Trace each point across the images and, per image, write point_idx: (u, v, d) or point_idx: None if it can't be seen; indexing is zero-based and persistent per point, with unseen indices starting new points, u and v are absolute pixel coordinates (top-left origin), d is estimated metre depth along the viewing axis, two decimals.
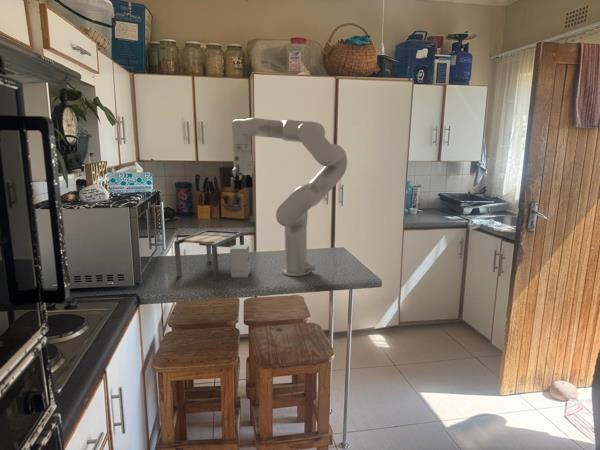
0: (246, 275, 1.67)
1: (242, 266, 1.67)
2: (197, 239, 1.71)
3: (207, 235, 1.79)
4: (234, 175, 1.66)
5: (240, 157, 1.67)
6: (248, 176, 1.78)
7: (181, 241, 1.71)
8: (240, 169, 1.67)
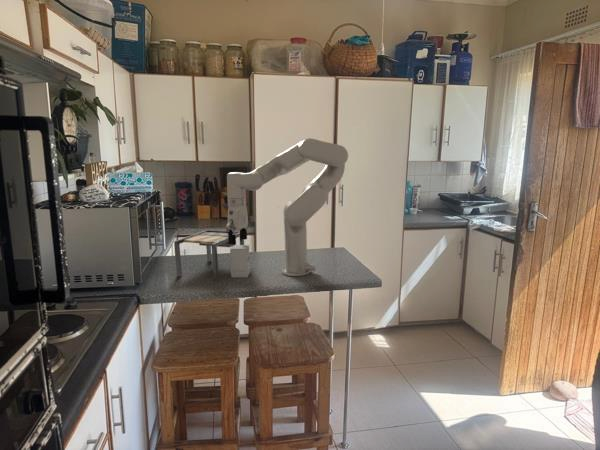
0: (246, 275, 1.67)
1: (242, 266, 1.67)
2: (197, 239, 1.71)
3: (207, 235, 1.79)
4: (228, 231, 1.60)
5: (234, 212, 1.61)
6: (243, 228, 1.72)
7: (181, 241, 1.71)
8: (234, 224, 1.62)
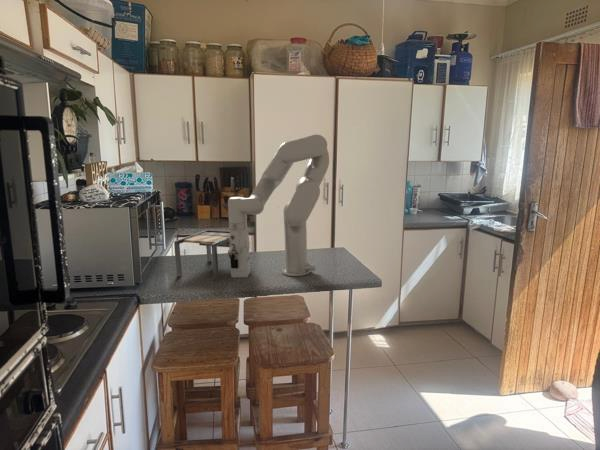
0: (246, 275, 1.67)
1: (242, 266, 1.67)
2: (197, 239, 1.71)
3: (207, 235, 1.79)
4: (230, 255, 1.62)
5: (236, 236, 1.63)
6: None
7: (181, 241, 1.71)
8: (236, 249, 1.64)
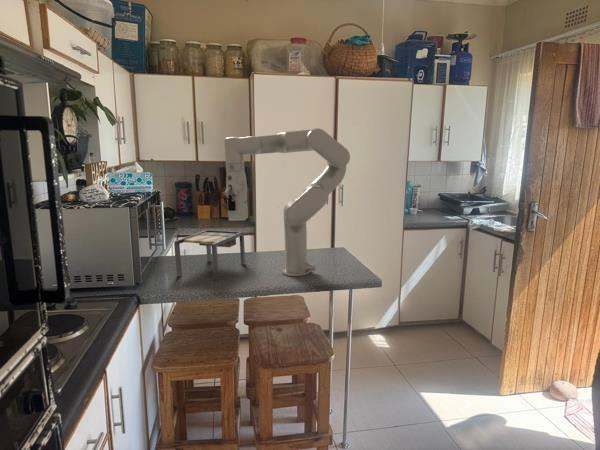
0: (243, 218, 1.63)
1: (239, 209, 1.62)
2: (197, 239, 1.71)
3: (207, 235, 1.79)
4: (227, 196, 1.58)
5: (233, 177, 1.58)
6: None
7: (181, 241, 1.71)
8: (233, 190, 1.59)
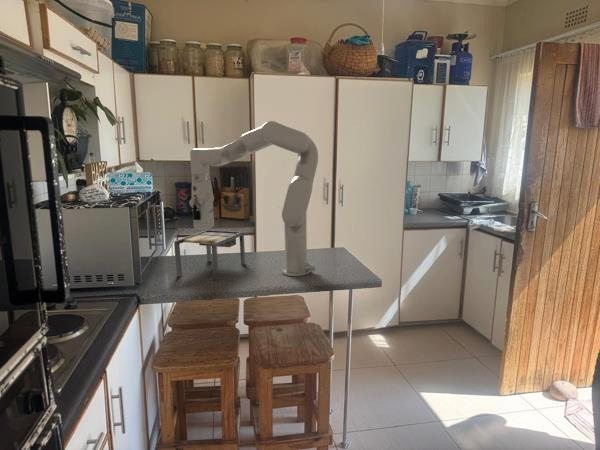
0: (208, 227, 1.68)
1: (204, 218, 1.67)
2: (197, 239, 1.71)
3: (207, 235, 1.79)
4: (192, 206, 1.63)
5: (198, 187, 1.63)
6: None
7: (181, 241, 1.71)
8: (198, 200, 1.64)
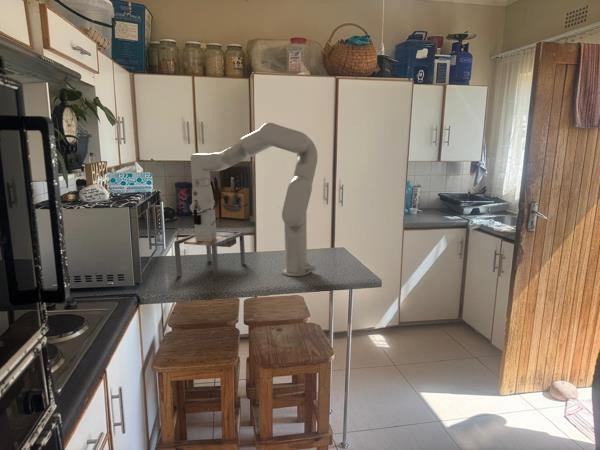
0: (209, 240, 1.69)
1: (206, 230, 1.68)
2: None
3: None
4: (192, 211, 1.63)
5: (198, 192, 1.64)
6: (209, 209, 1.75)
7: (181, 241, 1.71)
8: (198, 204, 1.64)
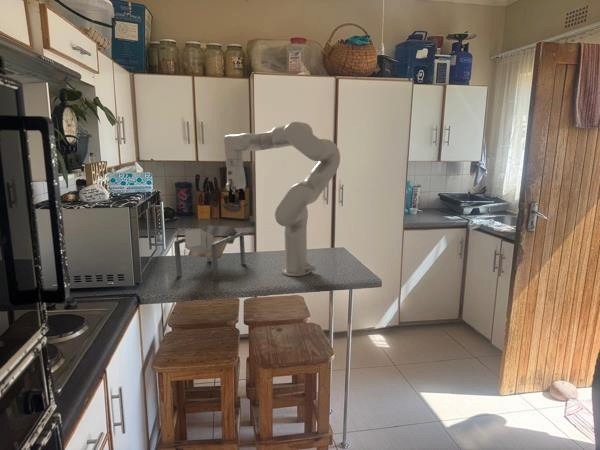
0: None
1: (204, 250, 1.67)
2: None
3: None
4: (228, 189, 1.70)
5: (233, 172, 1.71)
6: (241, 189, 1.82)
7: (181, 241, 1.71)
8: (233, 183, 1.71)
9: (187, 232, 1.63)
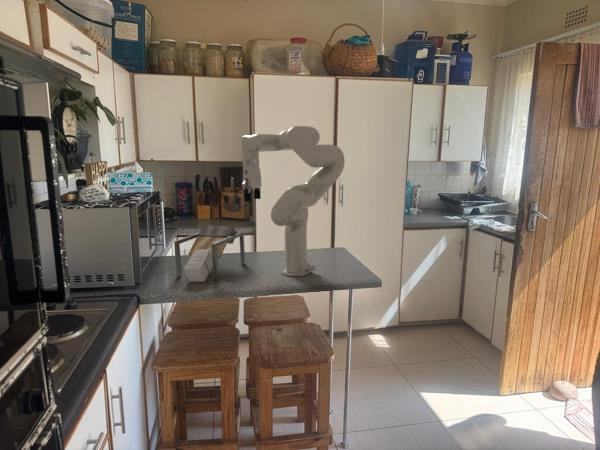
0: None
1: None
2: None
3: (207, 236, 1.79)
4: (244, 188, 1.74)
5: (249, 171, 1.75)
6: (256, 188, 1.86)
7: (181, 241, 1.71)
8: (249, 182, 1.76)
9: (186, 270, 1.59)
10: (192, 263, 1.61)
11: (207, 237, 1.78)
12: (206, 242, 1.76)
